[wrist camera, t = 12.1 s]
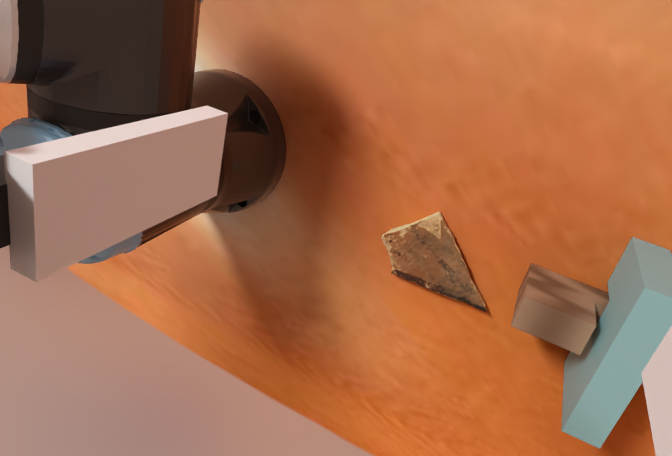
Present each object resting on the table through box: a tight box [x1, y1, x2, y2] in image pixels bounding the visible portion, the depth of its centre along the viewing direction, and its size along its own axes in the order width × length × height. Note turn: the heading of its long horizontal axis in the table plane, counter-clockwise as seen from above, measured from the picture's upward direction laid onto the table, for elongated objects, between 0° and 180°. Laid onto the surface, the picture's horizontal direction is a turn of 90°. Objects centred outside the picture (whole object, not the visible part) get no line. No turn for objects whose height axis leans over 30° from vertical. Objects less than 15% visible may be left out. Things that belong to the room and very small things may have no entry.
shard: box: [382, 212, 487, 312], centre depth 53 cm, size 11×8×2 cm
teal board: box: [561, 237, 672, 449], centre depth 43 cm, size 14×3×10 cm, turn 166°
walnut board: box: [511, 263, 609, 355], centre depth 44 cm, size 16×3×7 cm, turn 76°
